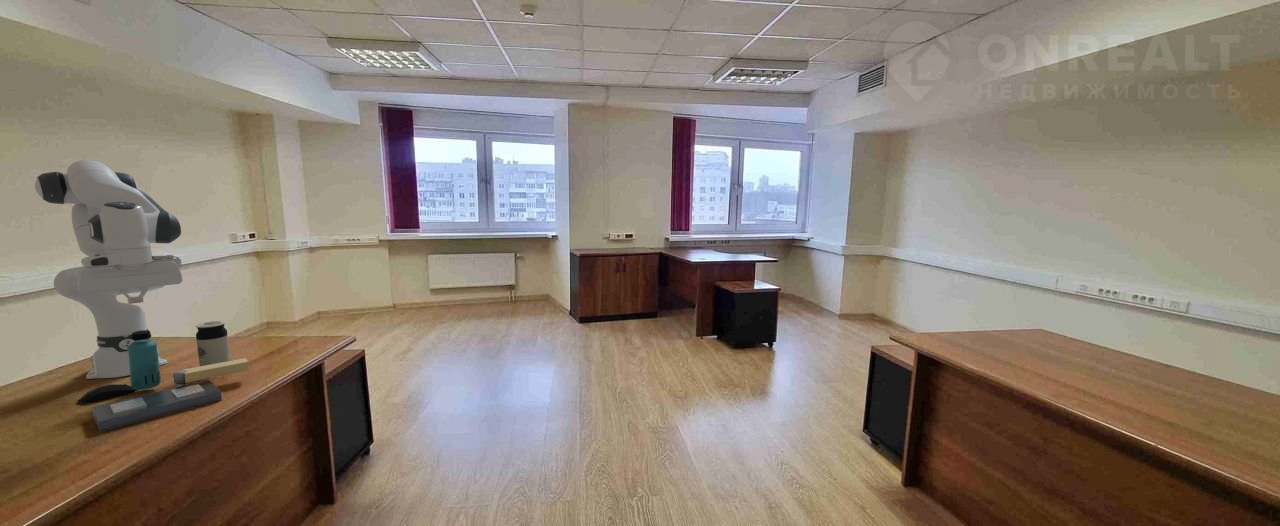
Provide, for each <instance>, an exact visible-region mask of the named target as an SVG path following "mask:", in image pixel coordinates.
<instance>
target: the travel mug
mask: <svg viewBox="0 0 1280 526" xmlns="http://www.w3.org/2000/svg"><path fill="white" fill-rule="evenodd" d="M225 324H226V321H223V320H216V321H215V320H214V321H213V320H212V321H206V322H205V321H204V322H201V323H200V322H199V323H198V324H196V325H195V328H196V329H197V332H196V333H195V339H196V347H197V348H196V349H197V355H198V357H197V358H198V363H199V367H200V366H205V365H211V364H216V363H222V362H227V361H231V356H230V355H231V354H230V353H231V352H230V343H229V336H228V330H227V328H226V327H225Z"/></svg>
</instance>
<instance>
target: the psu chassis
mask: <svg viewBox="0 0 1280 526" xmlns="http://www.w3.org/2000/svg"><path fill="white" fill-rule="evenodd" d="M187 383H188V382H187ZM187 383H186V381H185V382H182V383H175V387H173V388H171V387H170V388H168V389H163V390H160V391H154V392H151V393H146V394H142V395H141V394H140V395H138V396H134V397H129V398H125V399H120V400H117V401H116V400H115V401H112V402H108V403H103V404H100V405H95V406H92V407H91V410H92V417H93V419H94V421H95V424H96V426H97V428H98V431H99V433H103V432H107V431H110V430H113V429H114V430H115V429H118V428H121V426H122V427H126V426H129V424H130V425H133V424H136V423H141V422H144V420H145V421H148V420H151V418H152V419H155V417H156V418H159V416H160V417H163V416H166V414H167V415H170V414H169V413H171V414H174V413H173V412H175V413H179V412H182V411H185V409H186V410H189V409H188V408H190V409H193V408H192V407H194V408H197V407H201V406H204V404H205V405H208V404H209V405H210V404H213V403H216V402H219V401H222V400H223V398H222V392H221V390H220V389H219V388H218V387H217V386H216V385H215V384H214V383H213V382H212V381H211V380H210V379H206V380H205V379H204V380H200V381H198V382H197V381H196V382H193V383H188V384H187ZM200 405H201V406H200ZM196 406H197V407H196ZM181 410H182V411H181ZM162 415H163V416H162ZM147 419H148V420H147ZM140 421H141V422H140ZM125 425H126V426H125Z"/></svg>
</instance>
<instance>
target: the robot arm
mask: <svg viewBox="0 0 1280 526" xmlns="http://www.w3.org/2000/svg"><path fill="white" fill-rule="evenodd" d="M139 187H140V186H139V184H138V182H137V180H135V179H134V177H133V176H132V175H131V174H129V173H124V172H118V171H115V172H114V170H112V169H111V167H108V165H106V164H104V163H102V162H100V161H96V160H92V159H83V160H78V161H74V162H72V163H71V164H70V165H69V166H68V167H67V170H66V171H62V172H61V171H60V172H59V171H50V172H49V171H48V172H43V173H41V174H39V175H38V176H37V177H36V179H35V182H34V189H35V191H36V193H37V194H38V196H40V197H41V199H43V201H45V202H47V203H49V204H58V205H64V204H71V205H73V204H74V205H73V206H72V208H71V223H72V228H73V232H74V235H75V239H76V241H77V245H78V248H79V250H80V251H81V252H82V253H83V254H84V255H86V257H83V258H82V259H81V262H80V263H81V265H82V266H77V267H72V268H66V269H62V270H61V271H60V272H58V273H57V274H56V275H55V277H54V279H53V288H54V289H55V291H56V292H57V293H58V294H59V295H61V296H62V297H64V298H66V299H69V300H72V301H74V302H77V303H79V304H81V305H83V306H84V307H86V308H87V309H88V311H90V312H91V314H92V316H93V318H94V321H95V324H96V329H97V330H96V331H97V334H98V335H97V336H96V343H97V346H98V349H97V350H96V351H94V353H93V354H92V355H90V356H89V359H90V363H92V365H91V368H90V370H89V372H88V373H87V374H86V375H85V376H86V377H85V379H86V380H89V379H90V380H91V379H113V378H121V377H127V376H130V374H129V373H130V372H129V370H130V364H129V355H128V348H127V347H128V346H129V345H130V344H131V343H133V342H135V341H138V340H132V339H131V337H132V333H133V332H136V331H141V330H148V331H150V330H149V328H147V320H146V313H145V311H144V309H143V307H141V306H139V305H137V304H140V303H144V297H145V295H147V292H150V291H153V290H158V289H161V288H164V287H165V286H171V285H180V284H181V283H182V282H183V275H182V272H181V267H182V259H181V258H180V257H178V256H177V255H176V256H175V255H174V254H168V255H153V254H152V246H151V244H171V243H173V242H175V241H176V240H177V239H179V237H180V236H181V234H182V227H181V224H180V222H179V221H180V220H179V219H178V218H177V217H176V216H175V215H173V214H171V213H170V212H169V211H166V210H165V209H164V208H163V207H162V206H161V205H160V204H159V203H158V202H156V201H155V200H154V199H153V198H152V197H151V196H149V195H148V193H146V192H145V191H143V190H141V189H139ZM137 293H139V295H137V296H130V295H129V294H137ZM119 295H123V296H124V297H126V299H127V303H126V302H121V301H119V300H118V299H117V296H119ZM144 340H151V338H148V339H144ZM157 351H158V354H159V355H158V357H159V359H158V360H159V367H161V366H163V365H165V364H168V360H167V359H164V358H161V357H160V353H159V348H158V346H157Z"/></svg>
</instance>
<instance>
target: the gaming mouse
mask: <svg viewBox="0 0 1280 526" xmlns="http://www.w3.org/2000/svg"><path fill="white" fill-rule="evenodd" d="M135 391H136V392H137V391H138V390H134V389H133V388H132V386H131V385H128V384H127V383H124V384H123V383H122V384H106V385H102V386H98V387H96V388H93V389H91V390H89V391H87V392H85V394H84V395H82V396H81V397H80V398H79V399H78V400H77V403H78V404H88V403H89V404H93V403H94V402H95V403H100V402H103V401H108V400H112V398H113V399H116V398H115V397H117V398H119V397H120V396H121V397H125V396H129V395H131V393H132V394H134V392H135ZM136 392H135V393H136ZM128 394H129V395H128ZM124 395H125V396H124ZM121 397H120V398H121ZM99 401H100V402H99ZM95 403H94V404H95ZM89 404H88V405H89Z"/></svg>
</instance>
